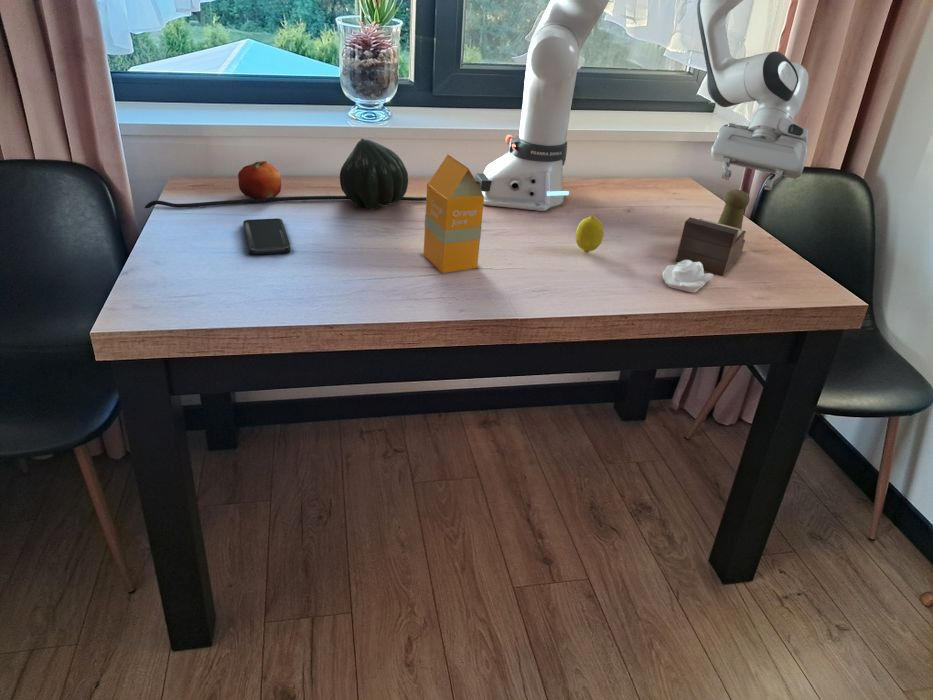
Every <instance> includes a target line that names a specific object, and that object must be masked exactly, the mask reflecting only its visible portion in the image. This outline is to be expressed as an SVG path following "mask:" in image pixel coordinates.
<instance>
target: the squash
mask: <svg viewBox="0 0 933 700" xmlns="http://www.w3.org/2000/svg"><path fill="white" fill-rule="evenodd" d="M339 184H340V187H341V190H342V192H343V194H344V196H347V197H348V198H349V199H348V200H350V201H351V203H352V204H353V205H355V206H356V207H359V208H367V209H368V210H376V209H378V208H379V207H380V206H383V207H386V206H390V204H395V203H397V202H399V201H401V200H400V199H402V198H403V197H405V195H406V193H407V190H408V186H409V173H408V170H407V168H406V166H405V163H404V162H403V160H402V159H401V157H400V156H399V155H398V154H396V152H395V151H393V150H391V149H390V148H388V147H386V146H384V145H382V144H380V143H378V142H376V141H373V140H371V139H367V138H360V140H359V141H358V142H357V143H356V145H355V146H354V148H353V149H352V151H351V152H350V154H349V156H348V157H347V158H346V160H345V161H344V163H343V165H342V166H341V169H340V173H339Z"/></svg>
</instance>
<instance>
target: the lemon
mask: <svg viewBox="0 0 933 700" xmlns="http://www.w3.org/2000/svg"><path fill="white" fill-rule="evenodd" d="M603 238H604V226H603V224H602V222H601V221H600V220H599V218H596V217H595V216H594V215H591V216H588V217H585V218H584V219H582V220H581V221H580V222H579V223H578V226H577V228H576V232H575V242H576V244H577V246H578V248H579V249H581V250H583V252H584V254H585V253H586V254H587V253H590V252H592V251H595V250H596V249H598V248H599V247H600V245H601V244H602V242H603Z"/></svg>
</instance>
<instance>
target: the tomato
mask: <svg viewBox="0 0 933 700" xmlns="http://www.w3.org/2000/svg"><path fill="white" fill-rule="evenodd" d="M237 178H238V188H239V191H240V192H241V193H242V194H243V195H244V196H246V197H249V198H251V199H267V198H274V197H278V195H279V194H281V190H282V178H281V174H280V172H279V170H278V169H277V168H276V167H275V166H274V165H273V164H271V163H268V161H266V160H264V161H262V160H261V161H259V160H258V161H256V162H254V163H252V164H248V165H245V166H243V167H242V168H241V169H240V170H239V171H238V173H237Z"/></svg>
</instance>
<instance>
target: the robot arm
mask: <svg viewBox="0 0 933 700" xmlns="http://www.w3.org/2000/svg"><path fill="white" fill-rule="evenodd" d="M743 1H744V0H698V1H697V4H696V7H697V8H696V13H697V14H696V15H697V20H698V21H697V23H698V28H699V29H698V30H699V33H700V40H701V45H702V50H703V56H704V61H705V62H704V63H705V66H706V84H707V92H708V95H709V96H710V99H712V101H713V102H714V103H715V104H717V105H718V106H720V107H722V108H729V107H733V106H737V105H740V104H743V103H750V102H757V104H758V107H757V109H756V110H755V112H754V114H753V116H752V118H751V120H750V123H749V126H747V125H742V124H735V123H733V122H732V123H731V122H729V123H728V124H724V125H722V126H721V127H720V128H719V129H718V132H717V137H716V138H715V140H714V142H713V144H712V145H711V148H710V156H711V159H712V160H713V161H714V162H715V161H716V162H720V163H722V168H723V172H722V175H721V180H725V181H730V178H731V176H732V170H731V169H729V168H730V166H731V165H733V166H738V167H742V168H747V169H751V170H755V171H760V172H763V173H767V174H768V173H769V174H771V175H775V176H774V177H772V178H771V179H769V178H767V179H766V181H765V183H764V185H763V189H764V190H766V191H772V189H773V188H774V185H776V184H777V183H778V182H780V181H781V180H782V179H783V177H785V178H790V179H794V180H797V179H798V178H800V177H801V176H802V174H803V171H804V168H805V165H806V160H807V153H808V144H809V138H810V134H809V133H810V132H809V130H808V129H806V128H804V127H803V126H801V125H799V124H797V123H796V122H795V117H796V116H797V114H798V113H799V112H800V110H801V108H802V105H803V102H804V101H805V98H806V94H807V91H808V87H809V79H810V78H809V73H808V71H807V69H806V68H805V67H804V66H803V65H802V64H800V63H798V62H794V61H790V59H789V58H788V57H787V56H786V55H784V54H783V52H780V51H768V52H763V53H759V54H754V55H751V56H746V57H741V58H735V57H733V56H732V55H731V50H730V46H729V39H728V33H727V27H726V22H727V21H726V19H727V17H728V14H729V13H730V12H731V11H732V10H733V9H735V7H737V6H739V5H740V4H741V3H742V2H743ZM609 2H610V0H550V1H549V2H548V4H547V7H546V9H545V10H544V12H543V14H542V15H541V16H542V17H541V19H540V20H539V22H538V24H537V26H536V29H535V30H534V33H533V34H532V37H531V39H530V43H529V45H528V49H527V57H526V65H525V74H524V75H525V76H524V85H523V95H522V106H521V113H520V123H519V132H518V135H517V136H515V137H514V135H512V134H507V135H506V136H505V138H504V139H505V142H506V144H507V145H508V151H507V152H506V153H505V154H503V155H501V156H500V157H498V158H496V159H495V160H493V161H492V162H490V163H489V164H487V166H486V167H485V169H484V171H483V173H475V175H474V177H475V178H474V179H475V181H476V183H477V184H478V186H479V188H480V189H481V191H482V193H483V195H484V196H485V197H484V202H483V206H491V207H499V208H500V207H501V208H510V209H520V210H529V211H540V212H545V211H547V210H549V209H550V208H552V207H557V206H559V205H561V204H563V203H564V201H565V196H569V195H570V191H569V190H564V184H563V178H564V177H563V173H564V166H565V163H566V159H567V153H568V152H567V151H568V141H567V136H568V129H569V123H570V115H571V109H572V104H573V98H574V92H575V86H576V81H577V74H578V67H579V63H580V52H581V50H582V48H583V46H584V44H585V42H586V41H587V39H588V37H589V36H590V34H591V33H592V31H593V29H594V27H595V26H596V24H597V23H598V20H599V19H600V18H601V16H602V14H603V13H604V11H605V9H606V8H607V6H608V4H609ZM426 199H427V196H403V198H402V199H400V200H399V201H406V202H407V201H409V202H426ZM316 200H317V201H319V200H321V201H322V200H323V201H324V200H325V201H327V200H350V199H349V198H348V197H347V196H346V195H302V196H276V197H274V198H267V199H254V198H244V199H241V198H240V199H228V200H227V199H226V200H215V201H203V202H202V201H201V202H191V203H189V202H188V203H173V202H169V201H164V200H152V201H150V202H148V203H147V204H146V205H145V206H144V207H143V208H144V209H150V208H151V207H153V206H156V205H161V206H166V207H169V208H175V209H176V208H177V209H178V208H179V209H180V208H181V209H182V208H197V207H209V206H223V205H239V204H251V203H266V202H267V203H269V202H289V201H316Z"/></svg>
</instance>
